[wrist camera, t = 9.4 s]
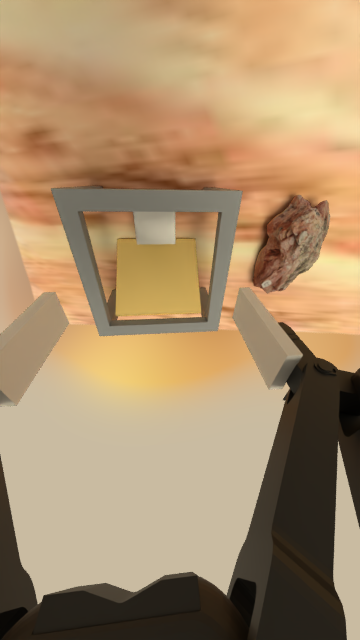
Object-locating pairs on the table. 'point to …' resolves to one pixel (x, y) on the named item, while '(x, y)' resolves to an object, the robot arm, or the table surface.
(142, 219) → the grey cube
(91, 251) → the frame
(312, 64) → the table surface
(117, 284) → the hatch
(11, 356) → the robot arm
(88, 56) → the table surface
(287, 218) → the rock
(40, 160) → the table surface
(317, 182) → the table surface
